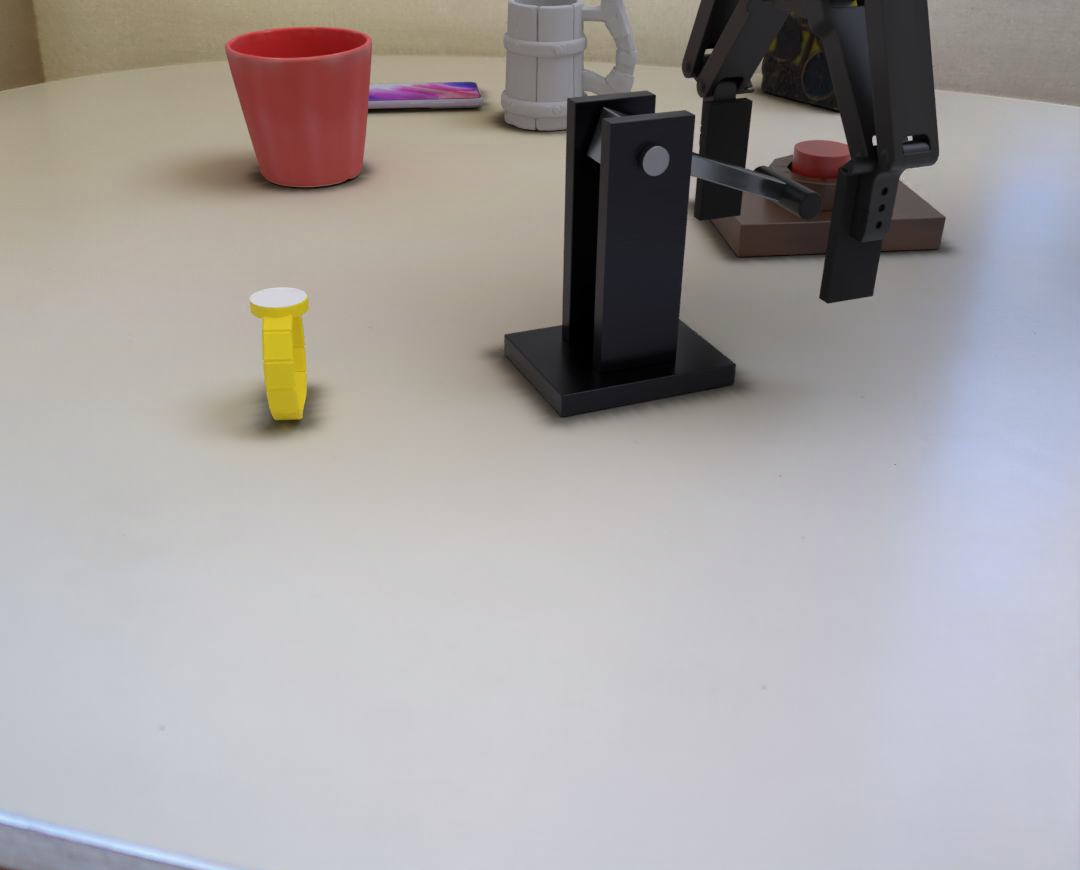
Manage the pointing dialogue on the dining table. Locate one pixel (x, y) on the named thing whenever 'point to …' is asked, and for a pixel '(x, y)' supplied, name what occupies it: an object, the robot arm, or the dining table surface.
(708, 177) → the switch lever
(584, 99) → the switch bracket
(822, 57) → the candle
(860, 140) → the robot arm
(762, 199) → the switch block
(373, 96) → the smartphone
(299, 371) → the watch
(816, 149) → the button
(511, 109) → the mug
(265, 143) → the flower pot
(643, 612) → the dining table surface
